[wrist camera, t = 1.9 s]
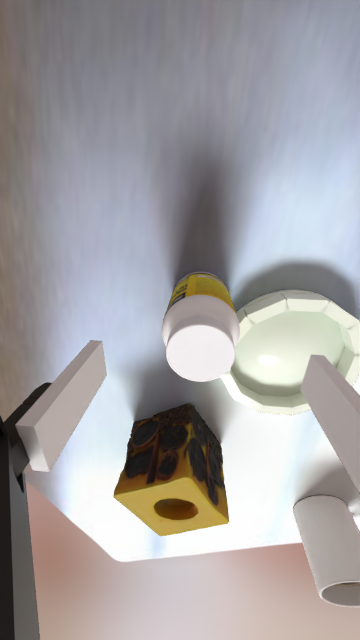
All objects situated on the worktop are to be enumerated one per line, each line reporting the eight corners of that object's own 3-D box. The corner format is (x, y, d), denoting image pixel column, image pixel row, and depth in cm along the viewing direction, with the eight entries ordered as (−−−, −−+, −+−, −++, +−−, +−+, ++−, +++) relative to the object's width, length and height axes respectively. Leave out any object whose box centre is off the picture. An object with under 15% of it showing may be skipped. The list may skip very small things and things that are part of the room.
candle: (132, 421, 34) (108, 495, 25) (191, 399, 32) (187, 474, 23) (167, 461, 38) (157, 538, 29) (222, 444, 35) (231, 525, 26)
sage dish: (224, 286, 24) (227, 294, 22) (372, 292, 23) (393, 302, 21) (212, 393, 31) (213, 409, 28) (327, 402, 30) (339, 419, 27)
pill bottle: (180, 262, 24) (167, 299, 14) (237, 280, 24) (264, 328, 14) (166, 314, 26) (145, 377, 16) (217, 329, 27) (227, 400, 17)
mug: (287, 498, 39) (313, 583, 30) (347, 490, 37) (394, 579, 28) (300, 530, 43) (327, 613, 34) (355, 524, 41) (398, 611, 32)
